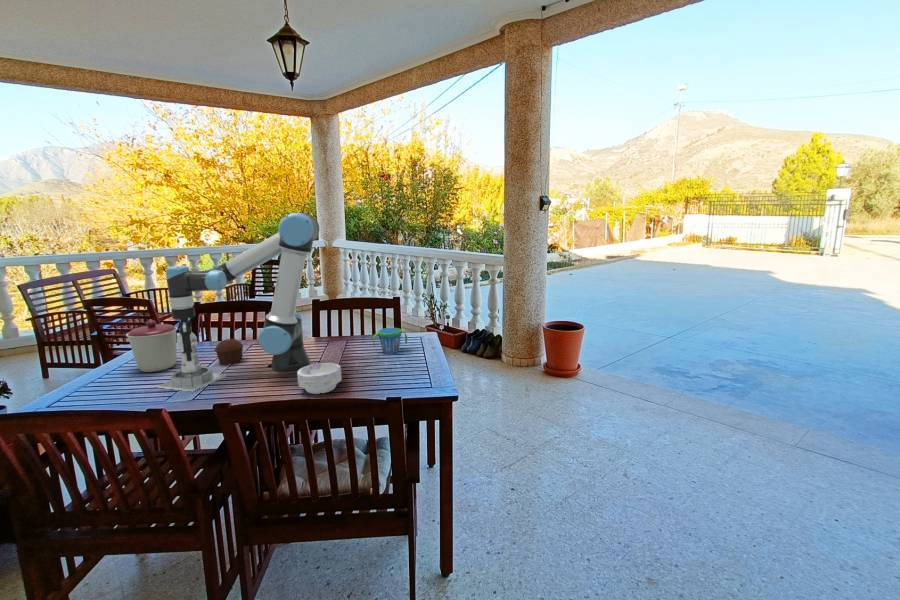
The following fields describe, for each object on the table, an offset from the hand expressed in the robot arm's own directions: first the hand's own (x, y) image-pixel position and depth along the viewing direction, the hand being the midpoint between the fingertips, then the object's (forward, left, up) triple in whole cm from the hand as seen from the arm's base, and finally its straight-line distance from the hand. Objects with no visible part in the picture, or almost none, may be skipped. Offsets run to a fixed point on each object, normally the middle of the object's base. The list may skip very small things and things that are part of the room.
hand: (190, 366), depth 170 cm
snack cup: (-60, -52, -7) cm, 80 cm away
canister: (+29, -10, -7) cm, 31 cm away
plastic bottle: (0, 0, -4) cm, 4 cm away
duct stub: (0, 0, -7) cm, 7 cm away
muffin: (+4, -24, -7) cm, 25 cm away
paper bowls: (-53, -5, -7) cm, 54 cm away
